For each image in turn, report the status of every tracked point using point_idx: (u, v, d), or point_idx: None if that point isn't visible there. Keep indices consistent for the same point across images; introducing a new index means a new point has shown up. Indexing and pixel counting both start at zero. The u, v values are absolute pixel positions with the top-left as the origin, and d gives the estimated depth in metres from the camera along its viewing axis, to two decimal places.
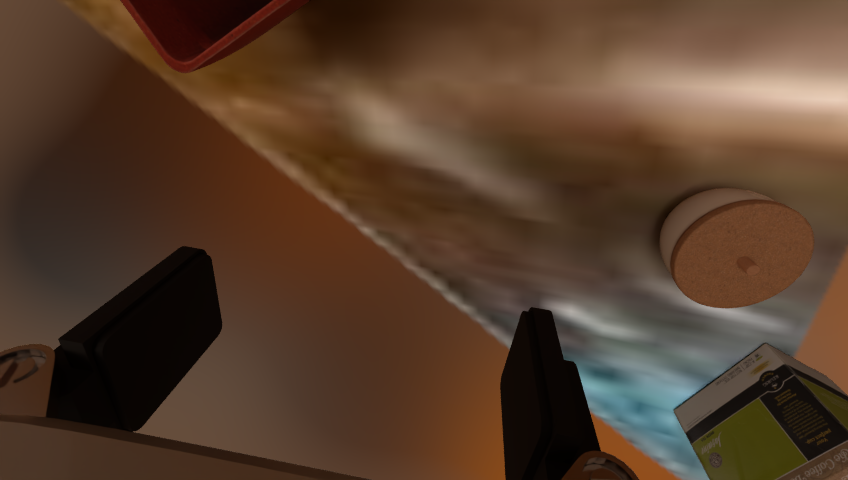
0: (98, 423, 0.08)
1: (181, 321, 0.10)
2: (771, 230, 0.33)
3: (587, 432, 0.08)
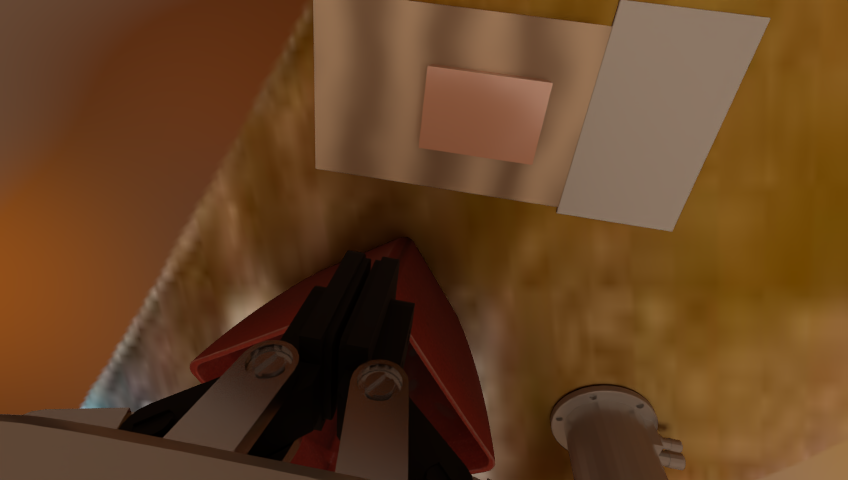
0: (316, 412, 0.09)
1: None
2: None
3: (396, 352, 0.10)
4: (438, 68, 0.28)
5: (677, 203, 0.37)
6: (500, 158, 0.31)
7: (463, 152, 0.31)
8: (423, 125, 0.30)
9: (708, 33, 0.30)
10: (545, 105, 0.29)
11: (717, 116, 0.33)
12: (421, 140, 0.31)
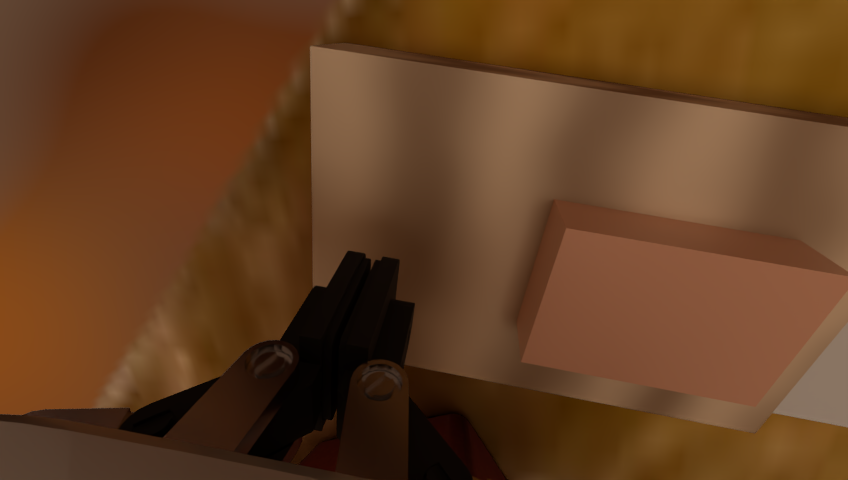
0: (316, 412, 0.09)
1: None
2: None
3: (396, 352, 0.10)
4: (590, 234, 0.13)
5: None
6: (690, 391, 0.15)
7: (613, 376, 0.15)
8: (537, 328, 0.15)
9: None
10: (822, 315, 0.13)
11: None
12: (529, 351, 0.15)
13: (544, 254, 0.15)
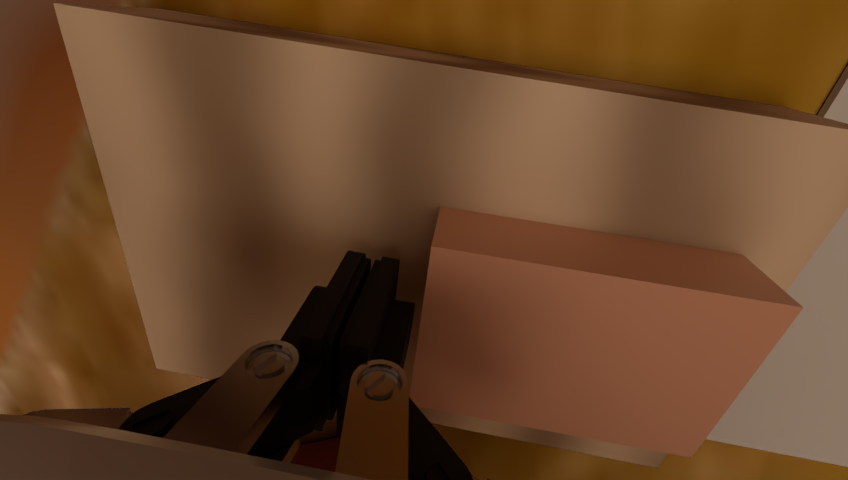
0: (316, 412, 0.09)
1: None
2: None
3: (396, 352, 0.10)
4: (462, 254, 0.10)
5: None
6: (611, 440, 0.12)
7: (519, 422, 0.13)
8: (420, 367, 0.12)
9: None
10: (763, 353, 0.10)
11: None
12: (415, 393, 0.13)
13: None
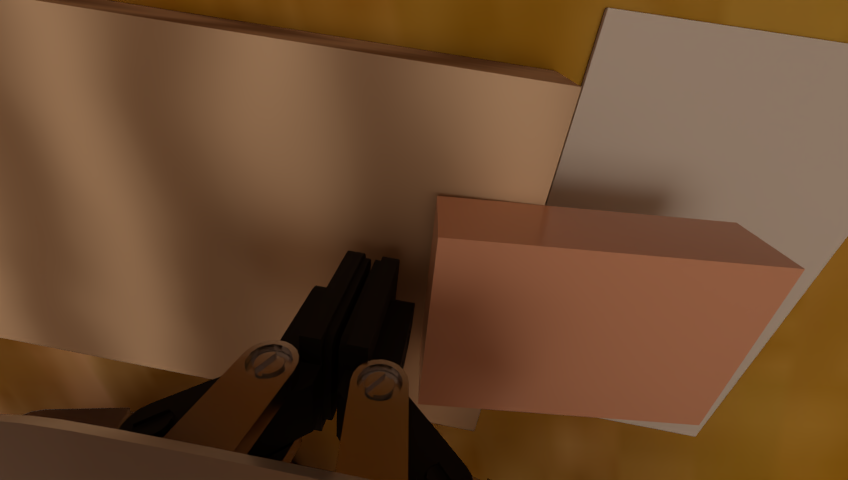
0: (316, 412, 0.09)
1: None
2: None
3: (396, 352, 0.10)
4: (471, 243, 0.09)
5: None
6: (623, 416, 0.12)
7: (531, 409, 0.12)
8: (429, 364, 0.11)
9: (815, 93, 0.13)
10: (767, 317, 0.10)
11: (809, 263, 0.15)
12: (424, 391, 0.12)
13: (430, 267, 0.12)
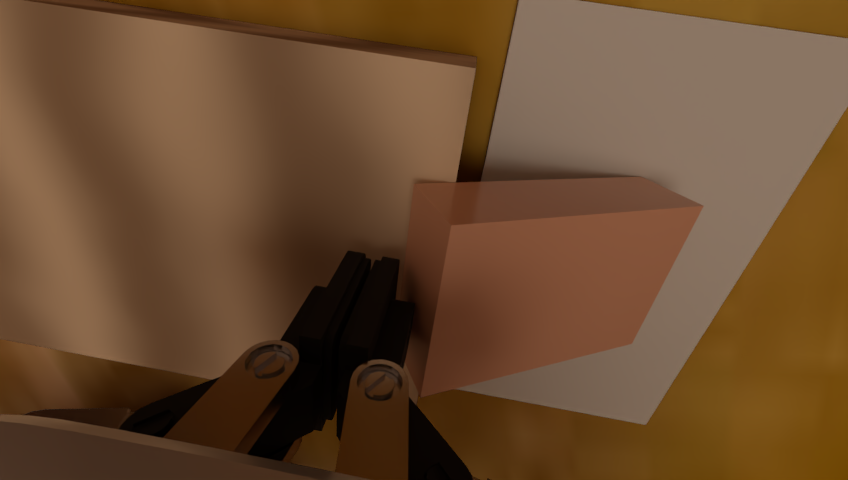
0: (316, 412, 0.09)
1: None
2: None
3: (396, 352, 0.10)
4: (481, 225, 0.10)
5: (656, 385, 0.19)
6: (584, 353, 0.15)
7: (518, 369, 0.13)
8: (434, 354, 0.11)
9: (730, 76, 0.13)
10: (679, 247, 0.13)
11: (740, 248, 0.15)
12: (427, 382, 0.12)
13: (419, 258, 0.11)
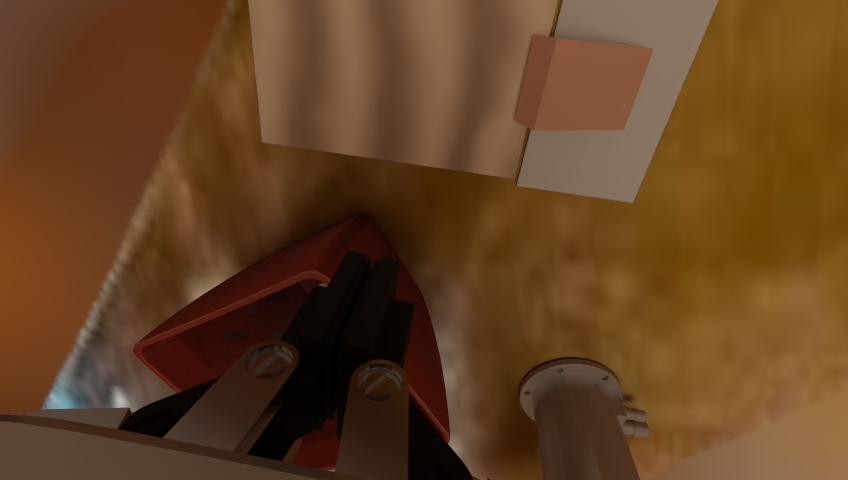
0: (316, 412, 0.09)
1: None
2: None
3: (396, 352, 0.10)
4: (566, 40, 0.26)
5: (637, 173, 0.36)
6: (601, 128, 0.31)
7: (572, 128, 0.30)
8: (542, 105, 0.28)
9: None
10: (644, 71, 0.30)
11: (676, 81, 0.32)
12: (537, 122, 0.28)
13: (536, 65, 0.28)
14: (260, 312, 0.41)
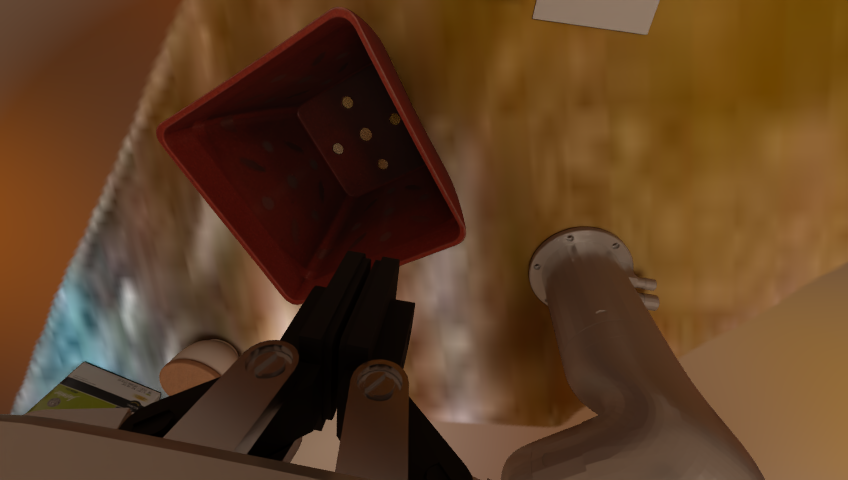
0: (316, 412, 0.09)
1: None
2: None
3: (396, 352, 0.10)
4: None
5: None
6: None
7: None
8: None
9: None
10: None
11: None
12: None
13: None
14: (276, 154, 0.42)
